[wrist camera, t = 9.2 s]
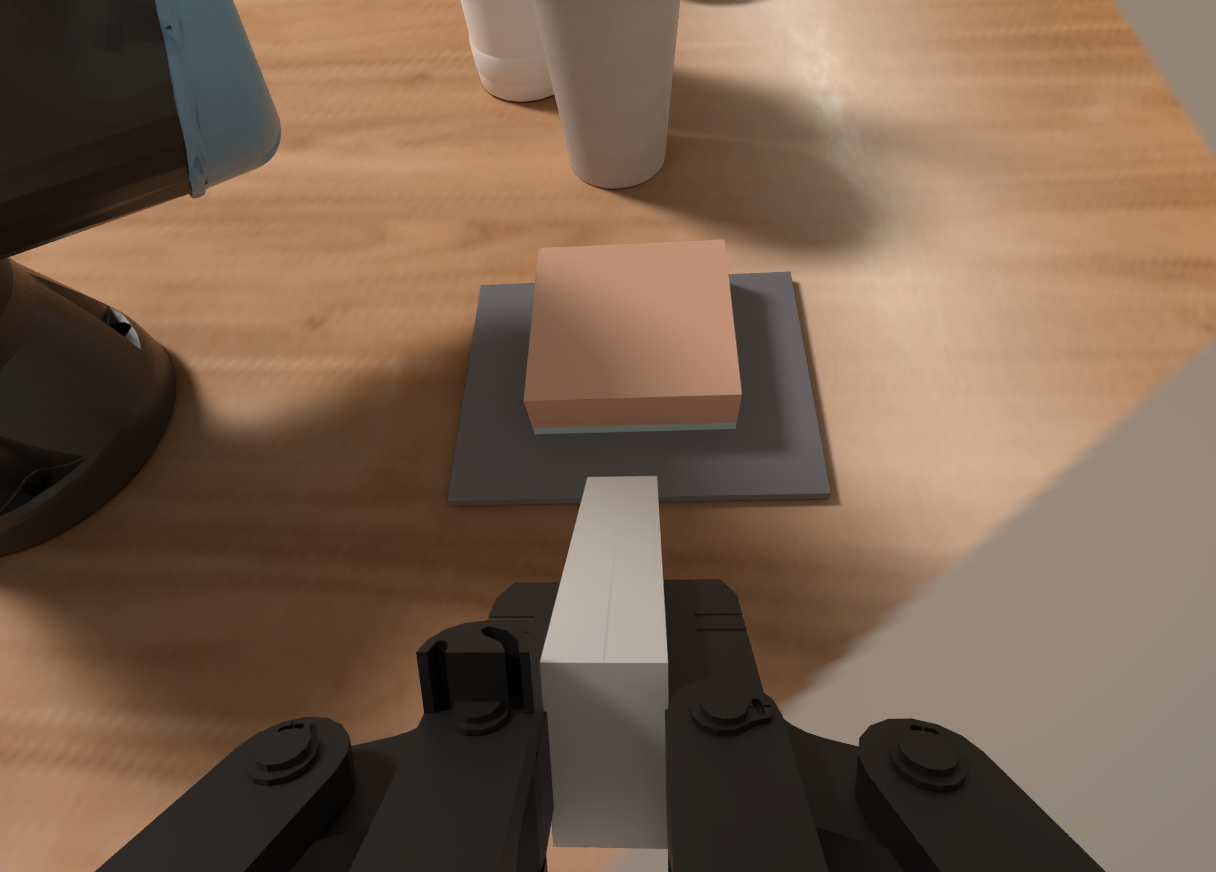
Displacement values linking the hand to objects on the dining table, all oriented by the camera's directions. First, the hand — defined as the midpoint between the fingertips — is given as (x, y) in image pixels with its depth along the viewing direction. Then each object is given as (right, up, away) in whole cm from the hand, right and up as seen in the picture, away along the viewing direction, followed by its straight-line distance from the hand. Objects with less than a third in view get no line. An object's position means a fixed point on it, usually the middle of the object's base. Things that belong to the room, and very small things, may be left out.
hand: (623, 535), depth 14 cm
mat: (+1, +5, +20) cm, 21 cm away
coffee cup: (0, +21, +30) cm, 37 cm away
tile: (+1, +3, +17) cm, 17 cm away
